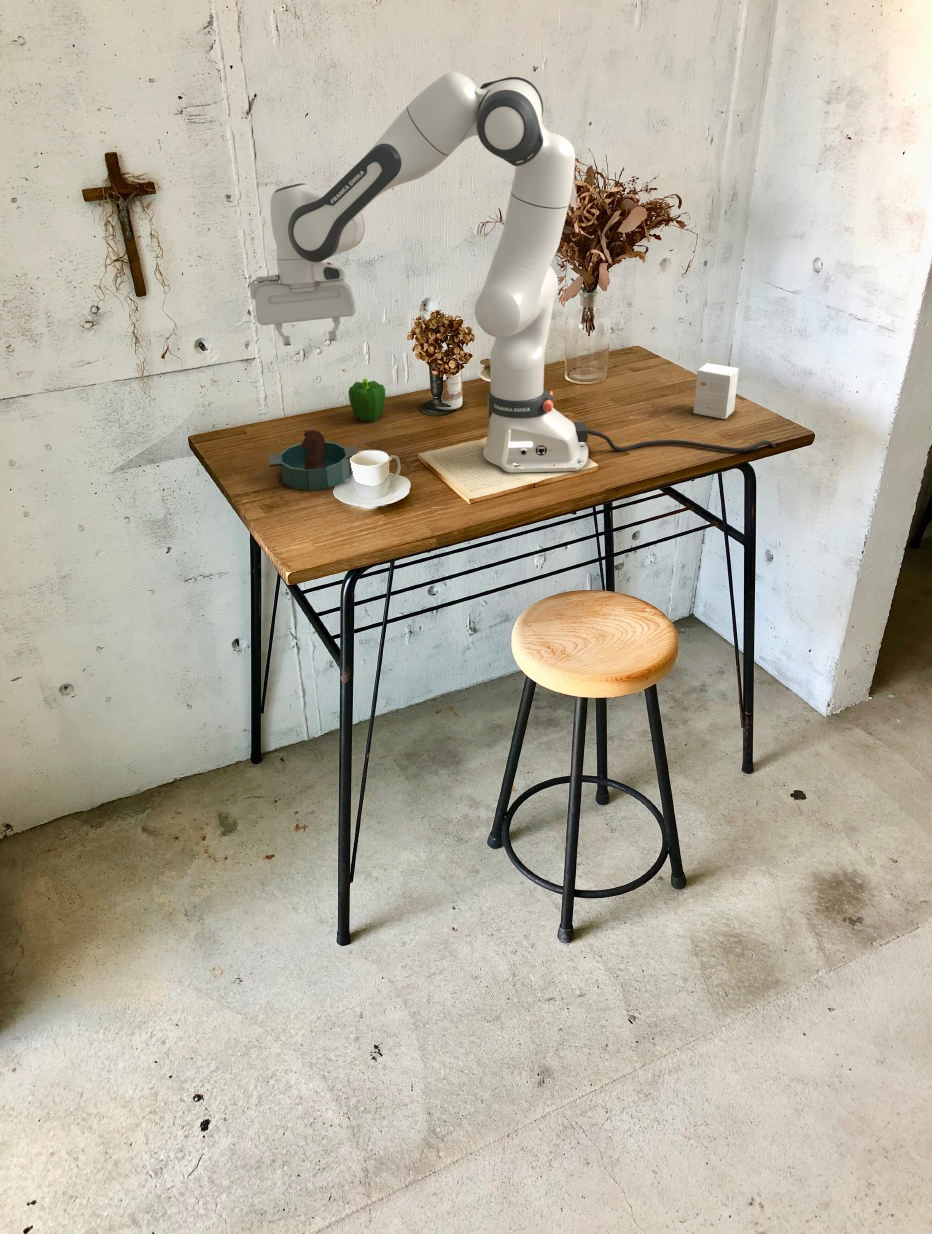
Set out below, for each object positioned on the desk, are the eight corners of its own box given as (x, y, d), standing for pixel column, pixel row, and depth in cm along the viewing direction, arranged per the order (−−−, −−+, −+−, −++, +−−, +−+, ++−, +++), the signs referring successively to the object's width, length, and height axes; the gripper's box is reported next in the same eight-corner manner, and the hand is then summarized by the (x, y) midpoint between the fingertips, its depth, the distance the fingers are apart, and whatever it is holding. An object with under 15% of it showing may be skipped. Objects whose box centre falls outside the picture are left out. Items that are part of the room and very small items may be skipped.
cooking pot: (363, 485, 208) (361, 464, 205) (273, 494, 205) (270, 474, 203) (355, 456, 219) (354, 437, 217) (270, 465, 217) (267, 445, 214)
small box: (734, 411, 236) (740, 368, 230) (725, 420, 232) (731, 375, 226) (701, 405, 240) (706, 362, 234) (692, 413, 236) (697, 369, 230)
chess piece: (301, 472, 213) (296, 428, 208) (325, 468, 215) (320, 424, 209) (306, 481, 210) (301, 436, 204) (330, 477, 211) (325, 432, 206)
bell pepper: (360, 409, 242) (357, 368, 236) (391, 413, 239) (389, 372, 233) (344, 422, 235) (340, 380, 230) (376, 427, 233) (373, 385, 227)
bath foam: (443, 413, 239) (440, 329, 227) (428, 404, 243) (424, 321, 232) (468, 406, 242) (466, 323, 231) (452, 397, 246) (450, 315, 235)
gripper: (248, 279, 199) (259, 350, 205) (352, 269, 202) (360, 340, 208) (248, 275, 204) (259, 345, 210) (349, 266, 207) (357, 335, 213)
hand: (310, 342), depth 209 cm, fingers open, 8 cm apart
